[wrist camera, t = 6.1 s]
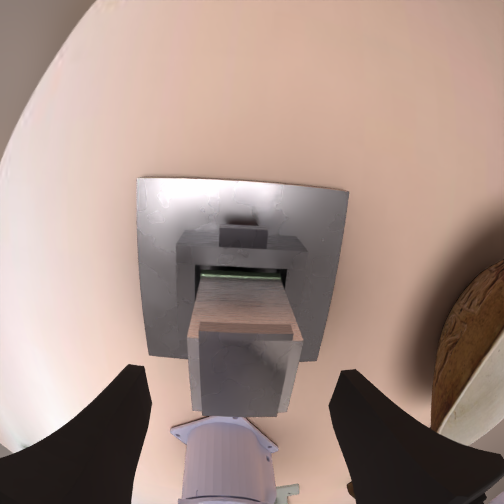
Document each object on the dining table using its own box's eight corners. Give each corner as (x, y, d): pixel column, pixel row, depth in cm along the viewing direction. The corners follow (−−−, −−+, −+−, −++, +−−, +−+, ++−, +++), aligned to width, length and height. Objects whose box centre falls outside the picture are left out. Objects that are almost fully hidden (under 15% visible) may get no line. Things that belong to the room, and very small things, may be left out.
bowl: (537, 293, 24) (580, 323, 14) (432, 416, 28) (462, 465, 19) (501, 160, 17) (581, 177, 8) (343, 351, 22) (390, 442, 13)
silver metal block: (270, 339, 16) (286, 415, 11) (202, 337, 16) (191, 414, 10) (279, 268, 15) (306, 333, 9) (201, 265, 15) (184, 329, 9)
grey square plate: (313, 353, 22) (326, 386, 18) (151, 347, 21) (139, 381, 17) (343, 189, 18) (370, 199, 14) (141, 177, 17) (117, 182, 13)
